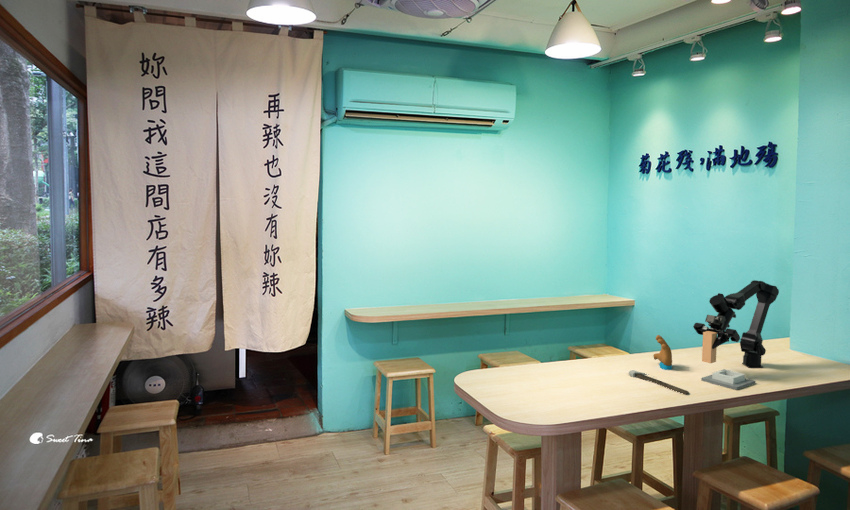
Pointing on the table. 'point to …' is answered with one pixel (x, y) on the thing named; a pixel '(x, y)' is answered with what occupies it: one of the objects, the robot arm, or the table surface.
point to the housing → (728, 379)
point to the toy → (664, 354)
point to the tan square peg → (709, 347)
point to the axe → (656, 381)
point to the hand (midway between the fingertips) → (707, 347)
